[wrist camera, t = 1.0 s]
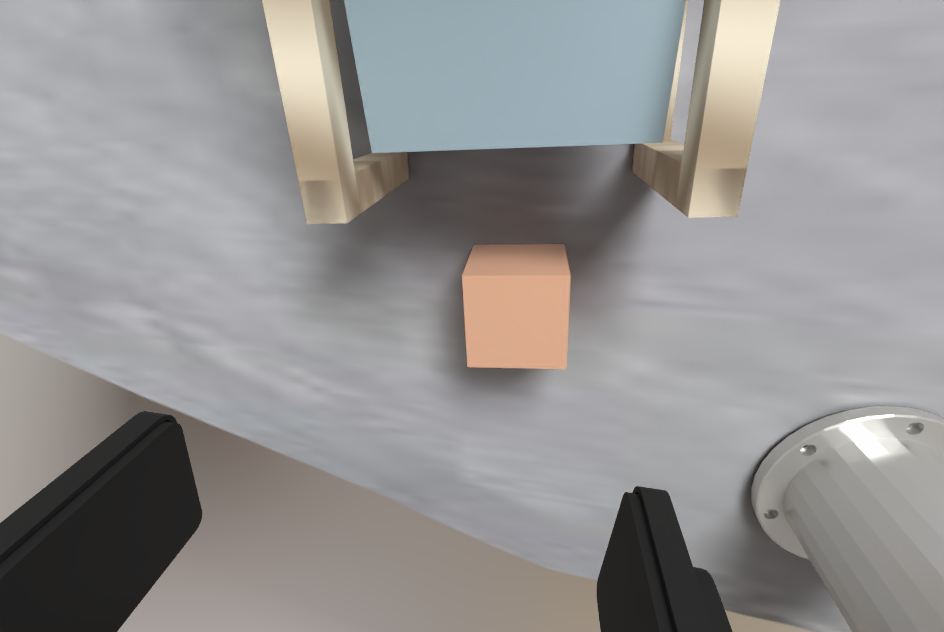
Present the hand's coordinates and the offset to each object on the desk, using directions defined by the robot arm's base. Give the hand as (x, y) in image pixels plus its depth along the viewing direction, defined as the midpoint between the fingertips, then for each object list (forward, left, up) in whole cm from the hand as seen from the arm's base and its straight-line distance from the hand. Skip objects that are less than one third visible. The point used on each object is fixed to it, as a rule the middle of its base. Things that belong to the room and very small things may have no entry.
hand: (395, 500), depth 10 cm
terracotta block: (-3, +1, -18) cm, 19 cm away
